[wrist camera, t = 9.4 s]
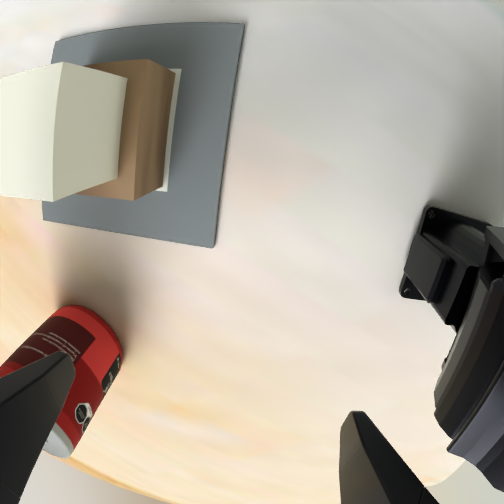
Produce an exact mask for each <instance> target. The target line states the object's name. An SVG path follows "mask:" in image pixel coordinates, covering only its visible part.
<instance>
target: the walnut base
mask: <svg viewBox="0 0 504 504" xmlns="http://www.w3.org/2000/svg"><path fill="white" fill-rule="evenodd" d="M84 67H88V68H92V69H96V70H100V71H103V72H107V73H111V74H114V75H118V76H121V77H125V78H128V79H127V85H126V92H125V100H124V107H123V116H122V125H121V135H120V147H119V162H118V178H117V179H114V180H111V181H108V182H105V183H102V184H99V185H97V186H94V187H91V188H88V189H85V190H83V191H80V192H77V193H75V194H79V195H89V196H98V197H107V198H115V199H124V200H132V201H134V200H136V199H138V198H140V197H142V196H144V195H146V194H148V193H150V192H152V191H154V190H157V189H159V188H161V187H163V177H164V165H165V153H166V143H167V134H168V125H169V117H170V109H171V102H172V94H173V88H174V81H175V75H176V73H174V72H172V71H171V70H169V69H167V68H165V67H163V66H161V65H159V64H157V63H155V62H153V61H151V60H149V59H139V60H125V61H115V62H106V63H98V64H90V65H84Z"/></svg>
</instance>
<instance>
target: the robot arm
mask: <svg viewBox="0 0 504 504" xmlns="http://www.w3.org/2000/svg"><path fill="white" fill-rule="evenodd" d="M430 211H432V215H431V216H430V217H429V212H430ZM404 272H405V273H404V276H403V279H402V282H401V284H400V287H399V293H400V294H401V296H402V297H404V298H409V299H417V300H425V301H427V302H428V303H430V304H431V305H432V306H433V308H434V309H435V311H436V312H437V313H438V315H439V316H440V317H441V319H442V320H443V322H444V323H445V324H446V325H451V327H452V328H453V330H454V331H455V332H456V337H455V339H454V342H453V344H452V347H451V349H450V351H449V354H448V356H447V358H445V359H444V362H443V364H442V372H441V374H440V376H439V378H438V380H437V384H436V387H435V391H434V398H435V407H436V410H435V412H434V416H435V418H436V420H437V422H438V424H439V425H440V427H441V428H442V429H443V430H444V431H445V433H446V434H447V435H448V436H449V437H450V438H451V439H453V440H452V442H451V443H450V444H449V446H448V447H447V451H448V452H449V453H452V454H454V455H457V456H460V457H462V458H464V459H466V460H467V461H469V462H470V463H472V464H473V465H475V466H476V467H477V468H478V469H479V470H480V471H481V472H482V473H483V475H484V476H485V477H486V478H487V480H488V481H489V482H490V483H491V484H492V486H493V487H494V488H496V489H498V490H500V491H502V492H504V227H495V226H492V225H491V224H489V223H487V222H484V221H481V220H478V219H475V218H471V217H468V216H465V215H462V214H459V213H455V212H452V211H449V210H445V209H442V208H438V207H435V206H431V205H428V206H426V207H425V208H424V210H423V214H422V217H421V221H420V225H419V228H418V232H417V234H416V235H415V236H414V239H413V242H412V246H411V249H410V252H409V255H408V258H407V262H406V265H405V268H404ZM407 288H408V290H407V291H406V292H404V290H405V289H407ZM74 378H75V368H74V365H73V361H72V358H71V356H70V354H68V353H66V352H63V351H57V352H55V353H52V354H50V355H48V356H46V357H44V358H42V359H40V360H37V361H35V362H33V363H31V364H29V365H27V366H25V367H22V368H20V369H18V370H16V371H14V372H12V373H9V374H7V375H5V376H3V377H1V378H0V504H18V503H19V501H20V497H21V495H22V493H23V491H24V488H25V486H26V483H27V481H28V479H29V477H30V474H31V472H32V470H33V468H34V465H35V463H36V461H37V459H38V457H39V455H40V453H41V451H42V448H43V446H44V444H45V442H46V440H47V438H48V436H49V434H50V432H51V430H52V428H53V426H54V424H55V422H56V420H57V418H58V417H59V414H60V412H61V410H62V408H63V405H64V403H65V400H66V398H67V395H68V393H69V390H70V388H71V385H72V383H73V381H74ZM339 480H340V494H341V504H439V503H438V502H437V500H436V499H434V497H433V496H432V495H431V494H430V492H429V491H428V490H427V489H426V488H425V487H424V485H423V484H422V483H421V481H420V480H419V479H418V478H417V477H416V475H415V474H414V473H413V472H412V470H411V469H410V468H409V467H408V465H407V464H406V463H405V462H404V461H403V459H402V458H401V457H400V456H399V454H398V453H397V452H396V451H395V449H394V448H393V447H392V446H391V444H390V443H389V442H388V441H387V439H386V438H385V437H384V436H383V434H382V433H381V432H380V431H379V429H378V428H377V427H376V426H375V424H374V423H373V422H372V421H371V419H370V418H369V417H368V416H367V414H366V413H365V412H363V411H351V412H350V413H349V414H348V416H347V418H346V420H345V421H344V423H343V425H342V427H341V431H340V459H339Z"/></svg>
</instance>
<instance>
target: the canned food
mask: <svg viewBox="0 0 504 504" xmlns="http://www.w3.org/2000/svg"><path fill="white" fill-rule="evenodd" d="M57 351H63V352H66V353H68V354H70V356H71V358H72V361H73V365H74V368H75V378H74V381H73V383H72V385H71V388H70V390H69V393H68V395H67V398H66V400H65V403H64V405H63V408H62V410H61V412H60V414H59V417H58V418H57V420H56V422H55V424H54V426H53V428H52V430H51V432H50V434H49V436H48V438H47V440H46V442H45V444H44V446H43V448H42V450H44V451H46V452H47V453H49V454H52V455H54V456H57V457H60V458H69V456H70V455H71V454H72V452H73V451H74V449H75V447H76V446H77V444H78V442H79V441H80V439H81V437H82V435H83V433H84V432H85V430H86V428H87V426H88V424H89V423H90V421H91V419H92V417H93V416H94V414H95V412H96V410H97V408H98V407H99V405H100V403H101V401H102V400H103V398H104V396H105V395H106V393H107V391H108V389H109V388H110V386H111V384H112V383H113V381H114V379H115V378H116V376H117V374H118V373H119V371H120V368H121V364H122V359H123V354H122V348H121V345H120V343H119V340H118V338H117V337H116V335H115V333H114V332H113V330H112V329H111V328H110V327H109V325H108V324H107V323H106V322H105V321H104V320H103V319H102V318H100V317H99V316H98V315H97V314H95V313H94V312H92V311H91V310H89V309H87V308H85V307H82V306H78V305H69V306H65V307H62V308H60V309H58V310H57V311H56V312H55V313H54V314H52V315H51V316H50V317H49V318H48V319H47V320H46V321H45V322H44V323H43V324H42V325H41V326H40V327H39V328H38V329H37V330H36V331H35V332H34V333H33V334H32V335H31V336H30V337H29V338H28V339H27V340H26V341H25V342H24V343H23V344H22V345H21V346H20V347H19V348H18V349H17V350H16V351H15V352H14V353H13V354H12V355H11V356H10V357H9V358H8V359H7V360H6V361H5V362H4V363H3V364H2V366H1V367H0V378H1V377H3V376H5V375H7V374H9V373H12V372H14V371H16V370H18V369H20V368H22V367H25V366H27V365H29V364H31V363H33V362H35V361H37V360H40V359H42V358H44V357H46V356H48V355H50V354H52V353H55V352H57Z"/></svg>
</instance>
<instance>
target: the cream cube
mask: <svg viewBox="0 0 504 504" xmlns="http://www.w3.org/2000/svg"><path fill="white" fill-rule="evenodd" d="M127 79H128V78H125V77H121V76H118V75H114V74H111V73H107V72H103V71H100V70H96V69H92V68H88V67H84V66H80V65H75V64H71V63H66V62H60V63H55V64H50V65H46V66H42V67H38V68H34V69H30V70H27V71H23V72H20V73H16V74H13V75H10V76H6V77H3V78H0V196H8V197H17V198H25V199H34V200H42V201H50V202H54V201H57V200H59V199H62V198H64V197H67V196H69V195H72V194H75V193H77V192H80V191H83V190H85V189H88V188H91V187H94V186H97V185H99V184H102V183H105V182H108V181H111V180H114V179H117V178H118V162H119V147H120V135H121V125H122V116H123V107H124V100H125V92H126V85H127Z"/></svg>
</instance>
